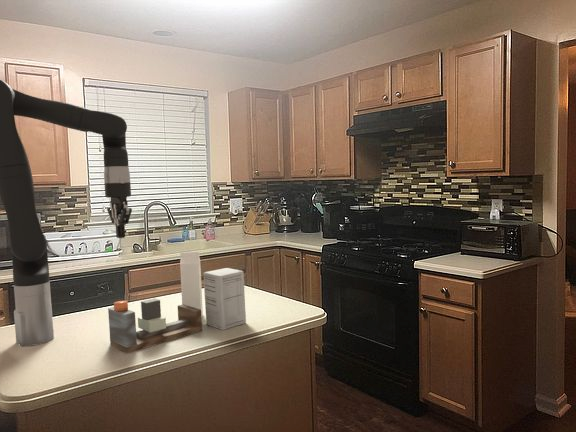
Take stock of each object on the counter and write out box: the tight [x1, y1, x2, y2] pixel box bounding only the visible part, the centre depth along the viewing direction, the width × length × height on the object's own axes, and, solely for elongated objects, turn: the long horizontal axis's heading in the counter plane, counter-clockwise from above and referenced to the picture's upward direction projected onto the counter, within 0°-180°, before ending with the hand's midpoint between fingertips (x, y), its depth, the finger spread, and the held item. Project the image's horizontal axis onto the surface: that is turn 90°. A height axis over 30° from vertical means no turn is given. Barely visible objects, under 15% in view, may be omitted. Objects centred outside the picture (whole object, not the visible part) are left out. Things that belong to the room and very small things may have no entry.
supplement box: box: [203, 267, 247, 331], centre depth 148 cm, size 10×9×17 cm
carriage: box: [137, 297, 167, 332], centre depth 136 cm, size 5×7×8 cm
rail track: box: [107, 303, 203, 354], centre depth 137 cm, size 24×10×10 cm, turn 135°
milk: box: [179, 251, 204, 319], centre depth 156 cm, size 6×6×22 cm
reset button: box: [113, 300, 129, 311], centre depth 130 cm, size 4×4×2 cm
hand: (120, 237), depth 146 cm, fingers closed
